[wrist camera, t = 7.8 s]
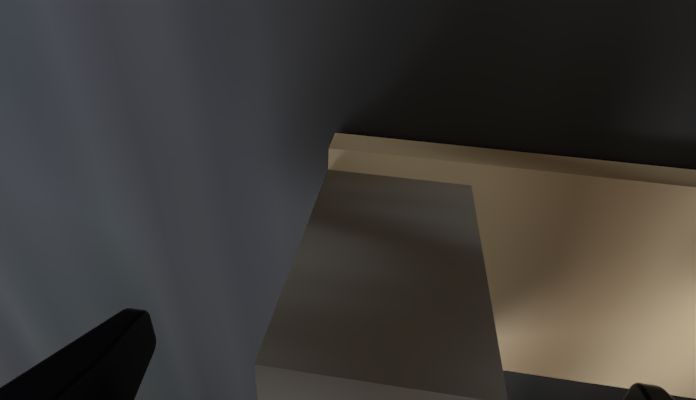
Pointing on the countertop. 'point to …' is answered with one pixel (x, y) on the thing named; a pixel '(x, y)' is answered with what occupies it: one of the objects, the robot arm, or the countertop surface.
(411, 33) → the countertop surface
